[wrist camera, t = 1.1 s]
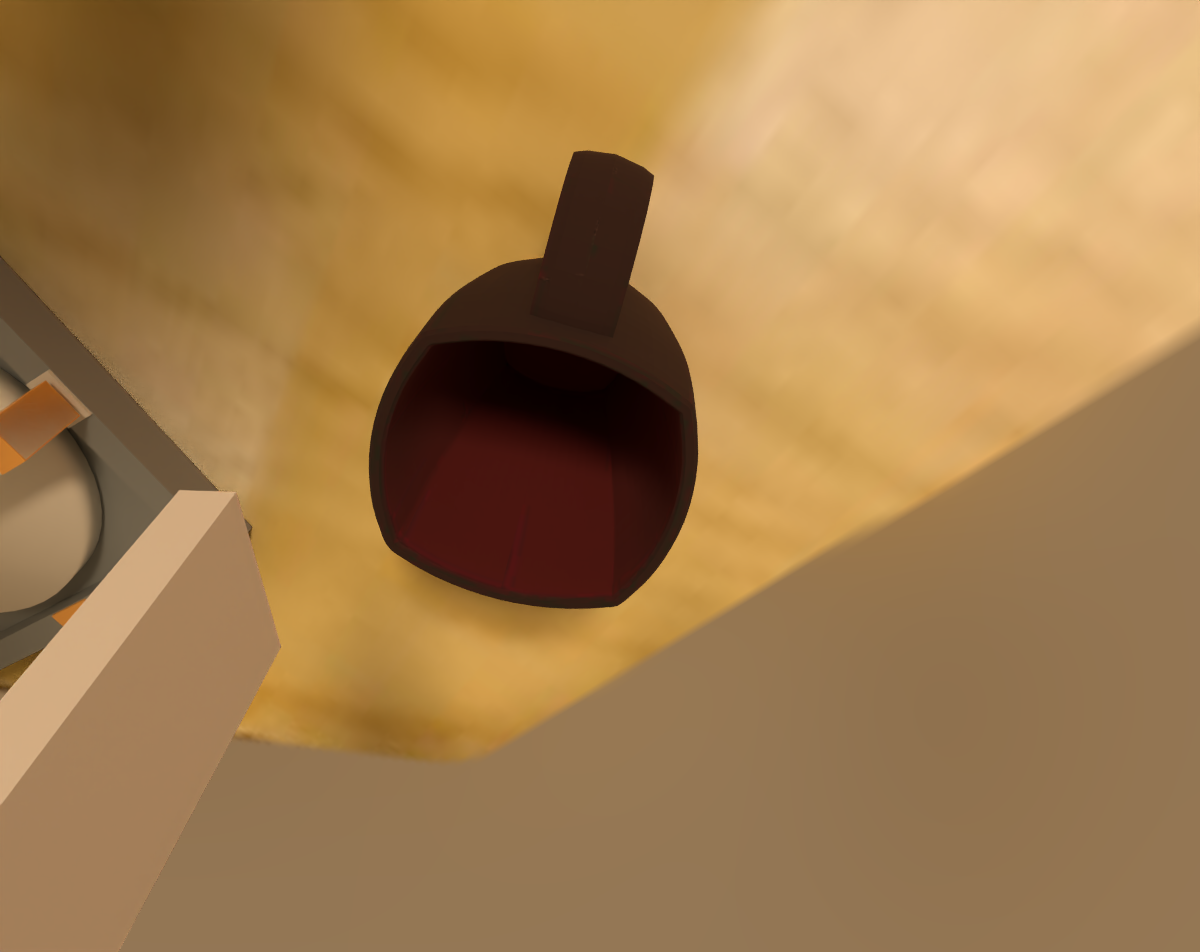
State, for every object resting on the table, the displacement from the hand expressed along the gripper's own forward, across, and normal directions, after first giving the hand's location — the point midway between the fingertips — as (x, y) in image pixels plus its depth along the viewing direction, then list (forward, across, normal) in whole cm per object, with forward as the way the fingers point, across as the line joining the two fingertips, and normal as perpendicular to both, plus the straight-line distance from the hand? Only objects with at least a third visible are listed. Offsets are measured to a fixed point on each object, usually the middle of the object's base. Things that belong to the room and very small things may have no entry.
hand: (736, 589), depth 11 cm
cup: (+25, -4, -5) cm, 26 cm away
